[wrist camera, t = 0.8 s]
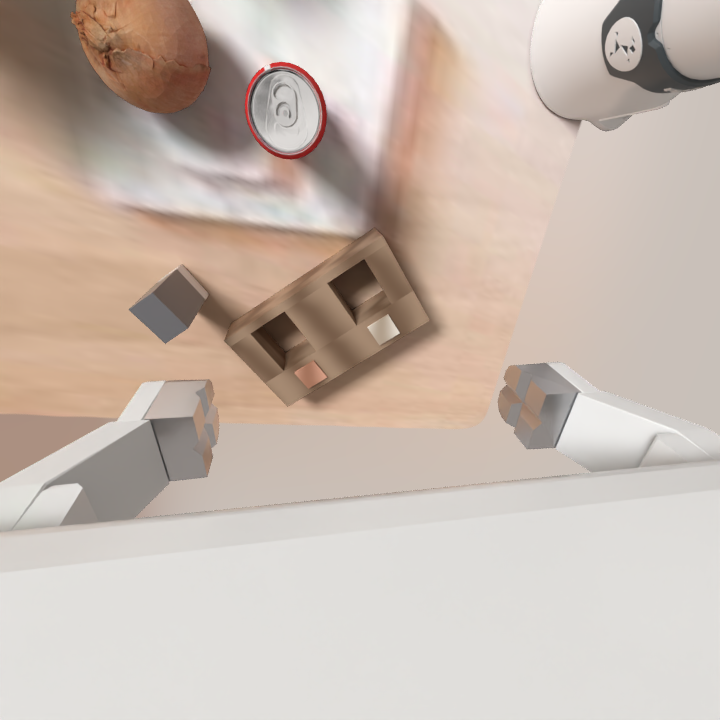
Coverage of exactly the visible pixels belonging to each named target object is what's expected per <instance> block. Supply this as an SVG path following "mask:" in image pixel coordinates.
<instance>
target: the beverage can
mask: <svg viewBox="0 0 720 720" xmlns="http://www.w3.org/2000/svg"><path fill="white" fill-rule="evenodd" d="M245 113H246V118H247V122H248V125H249V128H250V130H251V132H252V134H253V136H254V137H255V139H256V140H257V142H258V143H259V144H260V145H261V146H262V147H263V148H264V149H265V150H266V151H268V152H269V153H271V154H273V155H274V156H277V157H280V158H283V159H298V158H301V157H304V156H306V155H307V154H309V153H310V152H312V151H313V150H314V149H315V148H316V147H317V145H318V144H319V142H320V141H321V139H322V137H323V134H324V132H325V127H326V120H327V112H326V104H325V101H324V97H323V94H322V92H321V90H320V88H319V86H318V84H317V83H316V82H315V80H314V79H313V78H312V77H311V76H310V75H309V74H308V73H307V72H306V71H305V70H303V69H302V68H300V67H299V66H296V65H294V64H291V63H286V62H277V63H272V64H269V65H267V66H265V67H263V68H262V69H261V70H259V71H258V72H257V73H256V75H255V76H254V77H253V78H252V80H251V82H250V84H249V86H248V89H247V93H246V99H245Z"/></svg>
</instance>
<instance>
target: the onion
mask: <svg viewBox="0 0 720 720" xmlns="http://www.w3.org/2000/svg"><path fill="white" fill-rule="evenodd" d="M75 12H76V14H74V13H73V12H71V16H70V17H71V18H72V22H71V23H72V24H74V25H76V28H77V29H78V34H79V38H80V41H81V44H82V47H83V50H84V52H85V54H86V56H87V58H88V60H89V62H90V64H91V65H92V67H93V68H94V70H95V71H96V73H97V74H98V75H99V76H100V78H101V79H102V80H103V81H104V83H105V84H106V85H107V86H108V87H109V88H110V89H111V90H112V91H113V92H115V93H116V94H117V95H118V96H119V97H121V98H122V99H124V100H125V101H127V102H129V103H130V104H132V105H134V106H136V107H138V108H141V109H143V110H146V111H149V112H154V113H173V112H177V111H180V110H182V109H184V108H187V107H189V106H190V105H191V104H192V103H194V102H195V101H196V99H197V98H198V96H199V95H200V93H201V92H202V91H204V87H205V85H206V83H207V80H208V76H209V73H210V70H211V68H210V67H209V66H208V64H209V61H208V49H207V42H206V37H205V34H204V31H203V28H202V26H201V24H200V21H199V19H198V17H197V15H196V13H195V11H194V9H193V8H192V6H191V4H190V3H189V1H188V0H77V1H76V11H75Z"/></svg>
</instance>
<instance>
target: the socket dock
mask: <svg viewBox="0 0 720 720" xmlns="http://www.w3.org/2000/svg"><path fill="white" fill-rule="evenodd" d="M363 259H365V261H366V263H367V264H368V266H369V268H370V269H371V271H372V272H373V274H374V276H375V277H376V279H377V281H378V282H379V284H380V286H381V287H382V289H383V291H382V292H380V293H378V294H377V295H375V296H374V297H372V298H371V299H369V300H367V301H366V302H364V303H363V304H361V305H360V306H358V307H356V308H355V309H353V310H351V309H350V307H349V306H348V304H347V303H346V302H345V300H344V299H343V297H342V296H341V294H340V293H339V291H338V290H337V288H336V287H335V285H334V284H333V283H332V281H331V280H333V279H334V278H336V277H338V276H339V275H341V274H342V273H344V272H345V271H347V270H348V269H350V268H351V267H353V266H354V265H356V264H357V263H359V262H360V261H362V260H363ZM283 312H285V313H286V314H287V315H288V317H289V318H290V319H291V320H292V321H293V323H294V324H295V325H296V326H297V328H298V329H299V330H300V331H301V333H302V334H303V335H304V336H305V338H306V340H304V341H303V342H301V343H300V344H298V345H297V346H295V347H293V348H292V349H290V350H289V351H287V352H284V351H283V350H282V348H281V347H280V346H279V345H278V344H277V343H276V341H275V340H274V339H273V338H272V337H271V336H270V335H269V333H268V332H267V331H266V330H265V329H264V328H263V325H264V324H266V323H267V322H269V321H270V320H272V319H273V318H275V317H277V316H278V315H280V314H281V313H283ZM429 321H430V320H429V318H428V316H427V314H426V313H425V311H424V309H423V307H422V305H421V304H420V302H419V300H418V298H417V296H416V295H415V293H414V291H413V289H412V287H411V286H410V284H409V282H408V280H407V278H406V277H405V275H404V273H403V271H402V269H401V268H400V266H399V264H398V262H397V260H396V259H395V257H394V255H393V253H392V251H391V250H390V248H389V246H388V244H387V242H386V241H385V239H384V237H383V236H382V235H381V234H380V233H379V232H378V231H377V230H376V229H375V228H373V229H372V230H370V231H369V232H367V233H366V234H364V235H363V236H361V237H360V238H358V239H357V240H355V241H354V242H352V243H351V244H349V245H348V246H346V247H345V248H343V249H342V250H340V251H339V252H337V253H336V254H334V255H333V256H331V257H330V258H328V259H327V260H325V261H324V262H322V263H321V264H319V265H318V266H316V267H315V268H313V269H312V270H311V271H309V272H308V273H306V274H305V275H303V276H302V277H300V278H299V279H297V280H296V281H294V282H293V283H291V284H290V285H288V286H287V287H285V288H284V289H282V290H281V291H279V292H278V293H276V294H275V295H273V296H272V297H270V298H269V299H267V300H266V301H264V302H263V303H261V304H260V305H258V306H257V307H255V308H254V309H252V310H251V311H249V312H248V313H246V314H245V315H243V316H242V317H240V318H239V319H237V320H236V321H234V322H233V323H231V325H230V328H229V330H228V333H227V335H226V338H225V340H224V341H225V342H226V343H227V344H228V345H229V346H230V347H231V348H232V349H233V350H234V352H235V353H236V354H237V355H238V356H239V357H240V358H241V359H242V360H243V361H244V362H245V363H246V364H247V365H248V366H249V367H250V368H251V369H252V370H253V371H254V372H255V373H256V374H257V375H258V376H259V377H260V379H261V380H262V381H263V382H264V383H265V384H266V385H267V386H268V387H269V388H270V389H271V390H272V391H273V392H274V393H275V394H276V395H277V396H278V397H279V398H280V399H281V400H282V401H283V402H284V403H285V404H286V406H287V407H288V406H290V405H291V404H293V403H295V402H296V401H298V400H300V399H301V398H303V397H305V396H306V395H308V394H310V393H311V392H313V391H315V390H316V389H318V388H319V387H321V386H323V385H324V384H326V383H328V382H329V381H331V380H333V379H334V378H336V377H338V376H339V375H341V374H343V373H344V372H346V371H348V370H349V369H351V368H353V367H354V366H356V365H357V364H359V363H361V362H362V361H364V360H366V359H367V358H369V357H371V356H372V355H374V354H376V353H377V352H379V351H381V350H382V349H384V348H386V347H387V346H389V345H391V344H392V343H394V342H395V341H397V340H399V339H400V338H402V337H404V336H405V335H407V334H409V333H410V332H412V331H414V330H415V329H417V328H419V327H420V326H422V325H424V324H425V323H427V322H429Z"/></svg>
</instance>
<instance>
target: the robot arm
mask: <svg viewBox="0 0 720 720" xmlns="http://www.w3.org/2000/svg"><path fill="white" fill-rule="evenodd" d="M530 61H531V71H532V76H533V81H534V84H535V87H536V90H537V92H538V94H539V96H540V98H541V99H542V101H543V102H544V103H545V105H546V106H547V107H548V108H549V109H550V110H552V111H553V112H554V113H556V114H557V115H559V116H562V117H564V118H568V119H576V120H586V121H590V122H591V123H592V124H593V125H595V126H596V127H597V128H599V129H600V130H603V131H609V130H614V129H616V128H618V127H619V126H621V125H622V124H623V123H624V122H625V121H626V120H627V119H629V118H630V117H631V116H632V115H633V114H638V113H642V112H647V111H652V110H656V109H660V108H663V107H665V106H667V105H668V104H669V102H670V100H671V99H673V98H674V97H676V96H677V95H678V94H679V93H680V92H686V91H691V90H696V89H699V88H702V87H705V86H708V85H712V84H715V83H718V82H720V0H542V2H541V4H540V7H539V9H538V12H537V16H536V19H535V23H534V27H533V32H532V38H531V49H530ZM504 380H505V382H506V384H507V385H506V386H505V387H504V388H503V389H502V390H501V391H500V394H499V398H498V407H499V412H500V414H501V417H502V418H503V419H504V421H505V422H506V423H508V424H510V425H511V426H513V427H515V430H514V434H515V435H516V436H517V437H518V439H519V440H520V441H521V442H522V444H523V445H524V446H525V447H526V449H541V448H556V450H558V451H559V452H561V453H563V454H564V455H566V456H567V457H569V458H570V459H572V460H573V461H575V462H576V463H578V464H580V465H581V466H583V467H584V468H586V469H587V470H589V471H590V472H591V473H582V474H572V475H562V476H552V477H542V478H533V479H523V480H512V481H502V482H492V483H482V484H472V485H463V486H453V487H443V488H433V489H423V490H413V491H403V492H394V493H384V494H374V495H364V496H354V497H344V498H334V499H324V500H314V501H304V502H295V503H284V504H274V505H264V506H255V507H245V508H234V509H224V510H214V511H205V512H195V513H185V514H175V515H165V516H155V517H145V518H135V517H136V516H137V515H138V514H139V513H140V512H141V511H142V510H143V509H144V508H145V507H146V506H147V505H148V504H149V503H150V502H151V501H152V500H153V499H154V498H155V497H156V496H157V495H158V494H159V493H160V492H161V491H162V490H163V489H164V488H165V487H166V486H167V485H168V484H169V481H177V480H186V479H195V478H204V477H207V476H208V472H209V469H210V466H211V462H212V459H213V455H212V450H211V448H212V447H213V446H214V445H216V444H217V440H218V434H219V415H218V410H217V408H216V407H215V406H214V405H213V404H212V400H213V397H214V390H213V385H212V382H211V381H210V380H175V381H150V382H144V383H142V384H141V386H140V387H139V389H138V390H137V392H136V393H135V395H134V396H133V398H132V399H131V401H130V402H129V404H128V405H127V407H126V408H125V410H124V411H123V413H122V414H121V416H120V417H119V419H118V420H117V421H116V422H109V423H107V424H105V425H103V426H101V427H100V428H98V429H96V430H94V431H92V432H91V433H89V434H87V435H85V436H83V437H82V438H80V439H78V440H76V441H74V442H73V443H71V444H69V445H67V446H66V447H64V448H62V449H60V450H58V451H56V452H55V453H53V454H51V455H49V456H47V457H45V458H44V459H42V460H40V461H38V462H37V463H35V464H33V465H31V466H29V467H27V468H26V469H24V470H22V471H20V472H18V473H17V474H15V475H13V476H11V477H9V478H8V479H6V480H4V481H2V482H1V483H0V720H720V436H719V435H717V434H716V433H714V432H713V431H712V430H710V429H708V428H705V427H703V426H700V425H697V424H694V423H691V422H689V421H686V420H683V419H681V418H678V417H675V416H672V415H670V414H667V413H664V412H661V411H658V410H656V409H653V408H650V407H648V406H645V405H642V404H639V403H637V402H634V401H631V400H628V399H625V398H623V397H620V396H617V395H614V394H612V393H609V392H606V391H599V390H598V389H597V388H595V387H594V386H593V385H591V384H590V383H588V382H587V381H586V380H585V379H584V378H582V377H581V376H580V375H578V374H577V373H576V372H574V371H573V370H572V369H571V368H569V367H568V366H567V365H566V364H564V363H561V362H551V363H540V364H527V365H513V366H509V367H508V369H507V370H506V373H505V376H504ZM134 518H135V519H134Z"/></svg>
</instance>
